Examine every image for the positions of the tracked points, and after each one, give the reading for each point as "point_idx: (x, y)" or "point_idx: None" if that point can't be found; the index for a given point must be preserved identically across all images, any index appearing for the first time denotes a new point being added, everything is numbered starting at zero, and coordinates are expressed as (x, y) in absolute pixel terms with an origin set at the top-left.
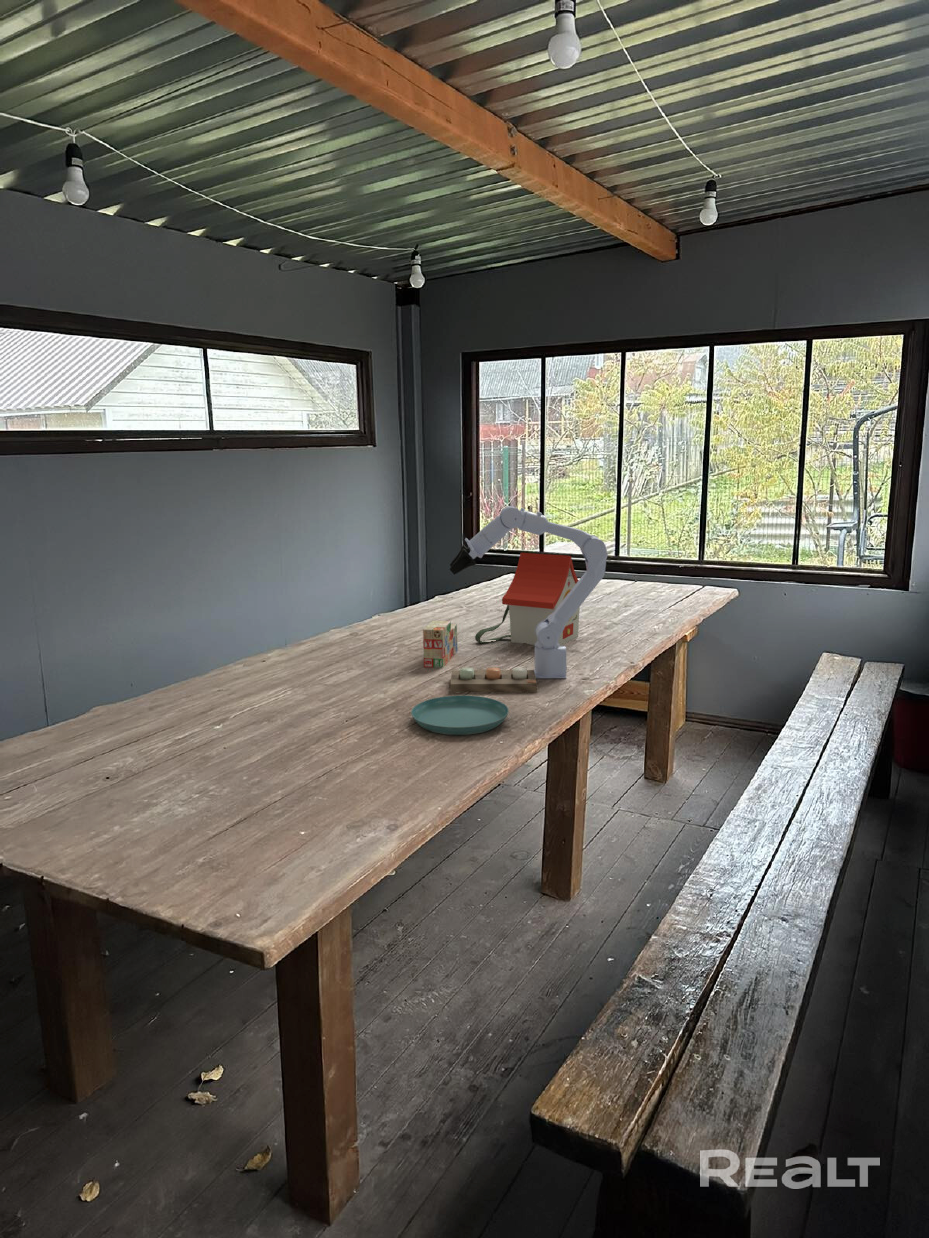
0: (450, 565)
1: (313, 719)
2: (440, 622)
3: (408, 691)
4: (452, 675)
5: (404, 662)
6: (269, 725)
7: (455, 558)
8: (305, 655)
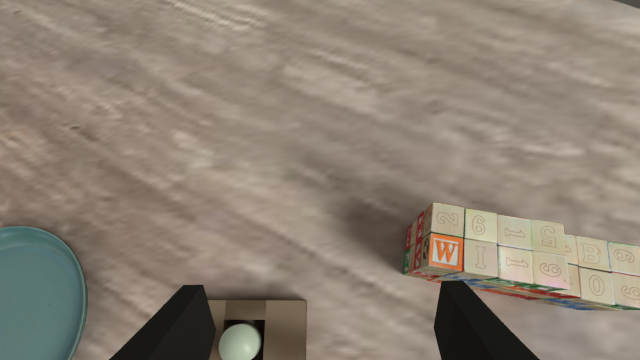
0: (441, 287)
1: (96, 82)
2: (542, 252)
3: (220, 209)
4: (260, 303)
5: (443, 182)
6: (87, 36)
7: (488, 356)
8: (473, 6)
